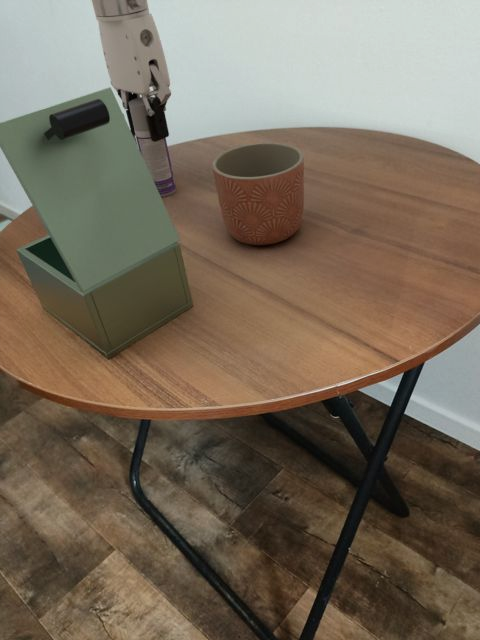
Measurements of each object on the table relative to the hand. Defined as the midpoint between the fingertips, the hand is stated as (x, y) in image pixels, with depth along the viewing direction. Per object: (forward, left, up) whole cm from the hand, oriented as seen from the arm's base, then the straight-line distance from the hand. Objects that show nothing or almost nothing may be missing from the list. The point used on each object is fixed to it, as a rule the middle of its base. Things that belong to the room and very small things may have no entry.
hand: (150, 134), depth 85 cm
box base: (+23, -25, -10) cm, 35 cm away
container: (0, 0, -10) cm, 10 cm away
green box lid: (+27, -25, +7) cm, 38 cm away
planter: (+25, 0, -10) cm, 27 cm away
